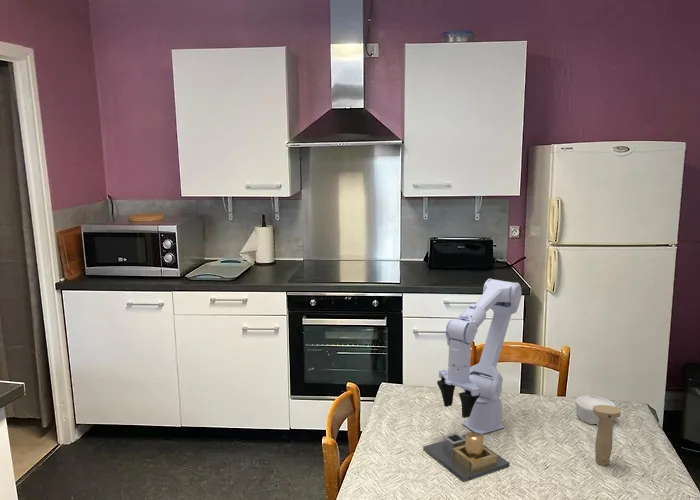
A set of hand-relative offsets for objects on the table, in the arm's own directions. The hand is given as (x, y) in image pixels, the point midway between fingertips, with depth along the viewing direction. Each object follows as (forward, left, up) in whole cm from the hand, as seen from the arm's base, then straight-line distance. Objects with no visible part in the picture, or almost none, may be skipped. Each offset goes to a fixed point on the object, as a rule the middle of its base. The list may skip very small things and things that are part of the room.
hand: (456, 411), depth 154 cm
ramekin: (-48, +6, -11) cm, 49 cm away
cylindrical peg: (+2, +9, -9) cm, 13 cm away
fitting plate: (+1, +6, -10) cm, 12 cm away
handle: (-29, +24, -11) cm, 39 cm away
